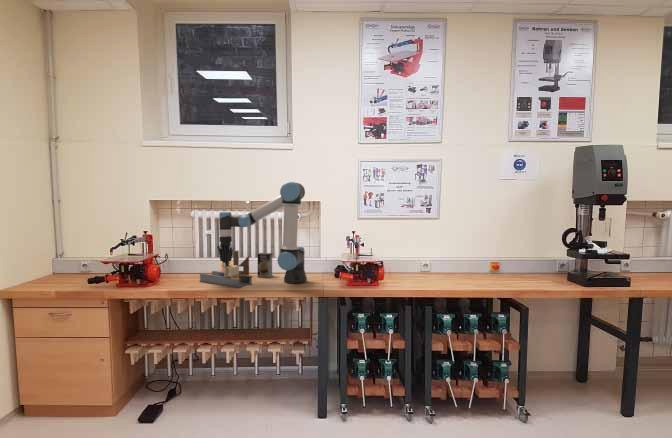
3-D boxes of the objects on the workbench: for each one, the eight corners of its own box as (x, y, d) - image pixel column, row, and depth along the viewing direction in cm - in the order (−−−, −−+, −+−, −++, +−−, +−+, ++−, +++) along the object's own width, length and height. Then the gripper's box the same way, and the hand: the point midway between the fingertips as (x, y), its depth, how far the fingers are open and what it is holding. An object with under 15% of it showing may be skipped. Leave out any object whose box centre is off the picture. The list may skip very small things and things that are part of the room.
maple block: (239, 281, 236) (239, 265, 235) (230, 283, 230) (230, 267, 229) (232, 280, 239) (232, 265, 238) (224, 282, 233) (224, 266, 232)
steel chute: (251, 284, 234) (251, 275, 233) (237, 287, 223) (237, 279, 223) (214, 277, 251) (214, 270, 250) (199, 281, 240) (199, 273, 240)
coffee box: (257, 276, 255) (257, 253, 255) (260, 275, 262) (260, 252, 261) (269, 277, 254) (269, 254, 253) (272, 275, 261) (272, 252, 260)
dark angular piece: (248, 276, 256) (248, 251, 255) (232, 276, 255) (232, 251, 254) (249, 275, 260) (249, 250, 259) (233, 275, 259) (233, 250, 258)
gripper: (237, 236, 235) (237, 272, 236) (222, 234, 242) (223, 270, 243) (228, 236, 229) (228, 274, 230) (213, 235, 235) (214, 272, 237)
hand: (225, 272), depth 236 cm, fingers closed
